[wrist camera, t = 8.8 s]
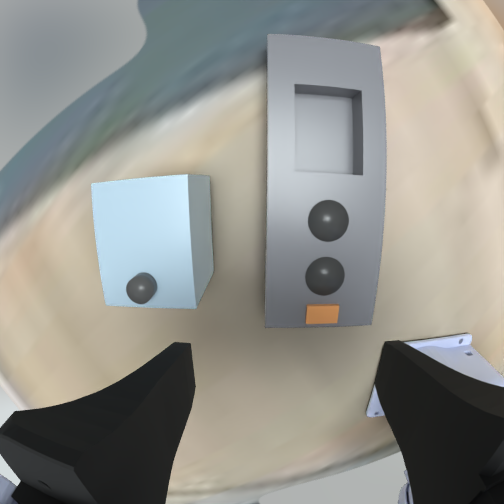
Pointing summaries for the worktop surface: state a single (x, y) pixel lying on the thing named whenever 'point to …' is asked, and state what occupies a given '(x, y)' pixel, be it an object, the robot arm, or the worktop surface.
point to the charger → (154, 240)
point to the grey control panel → (323, 181)
